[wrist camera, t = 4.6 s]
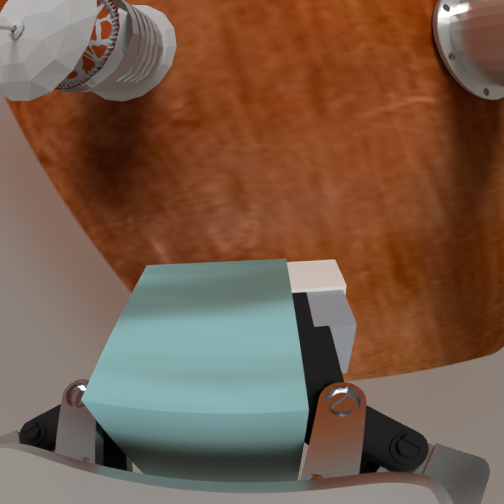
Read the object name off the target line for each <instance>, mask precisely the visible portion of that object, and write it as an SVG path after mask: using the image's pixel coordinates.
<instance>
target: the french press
mask: <svg viewBox="0 0 504 504" xmlns="http://www.w3.org/2000/svg"><path fill="white" fill-rule="evenodd" d="M116 6H117V7H119V8H120V9H117V7H116ZM176 47H177V45H176V39H175V32H174V27H173V26H172V24H171V23H170V22H169V20H168V19H167V18H166V16H165V15H164V13H162V12H160V11H158V10H156V9H154V8H152V7H149V6H143V5H130V4H129V3H127V2H126V1H124V0H8V2H7V3H6V4H5V6H4V8H3V9H2V11H1V13H0V93H1V94H2V95H4V96H5V97H6V98H8V99H9V100H11V101H31V100H33V99H35V98H38V97H40V96H42V95H44V94H47V93H49V92H51V91H52V90H53V89H59V90H61V91H64V92H66V93H74V92H94V93H95V94H97V95H99V96H100V97H102V98H104V99H105V100H114V101H127V100H130V99H134V98H137V97H141V96H143V95H144V94H146V93H147V92H148V91H150V90H151V89H152V88H154V87H155V86H157V85H158V84H159V83H160V82H161V80H162V79H163V77H164V76H165V75H166V73H167V72H168V70H169V69H170V67H171V66H172V62H173V58H174V55H175V51H176ZM83 83H85V84H87V85H88V87H87V86H85V85H84V84H83ZM78 85H81V86H82V87H84V88H80V87H79V86H78ZM73 87H76V88H73Z"/></svg>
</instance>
